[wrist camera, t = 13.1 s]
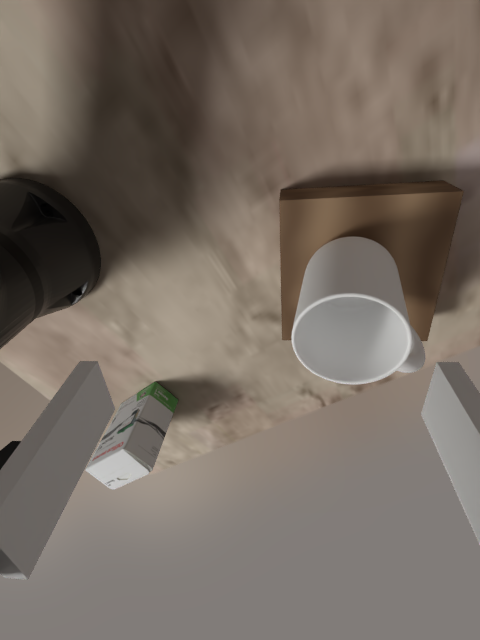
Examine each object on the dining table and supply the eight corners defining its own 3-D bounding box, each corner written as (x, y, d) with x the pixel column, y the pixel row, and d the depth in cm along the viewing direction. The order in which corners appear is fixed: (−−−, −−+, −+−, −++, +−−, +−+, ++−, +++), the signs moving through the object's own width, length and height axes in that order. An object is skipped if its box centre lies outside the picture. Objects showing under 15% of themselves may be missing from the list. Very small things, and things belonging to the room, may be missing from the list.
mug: (449, 293, 32) (482, 371, 24) (380, 344, 37) (388, 423, 29) (345, 214, 30) (344, 270, 22) (288, 279, 35) (269, 344, 27)
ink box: (155, 379, 51) (123, 448, 41) (180, 400, 52) (154, 471, 42) (119, 403, 54) (81, 472, 44) (143, 422, 56) (111, 492, 46)
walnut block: (283, 316, 43) (282, 340, 39) (280, 188, 35) (279, 200, 31) (413, 316, 41) (427, 341, 37) (441, 179, 33) (463, 191, 29)
